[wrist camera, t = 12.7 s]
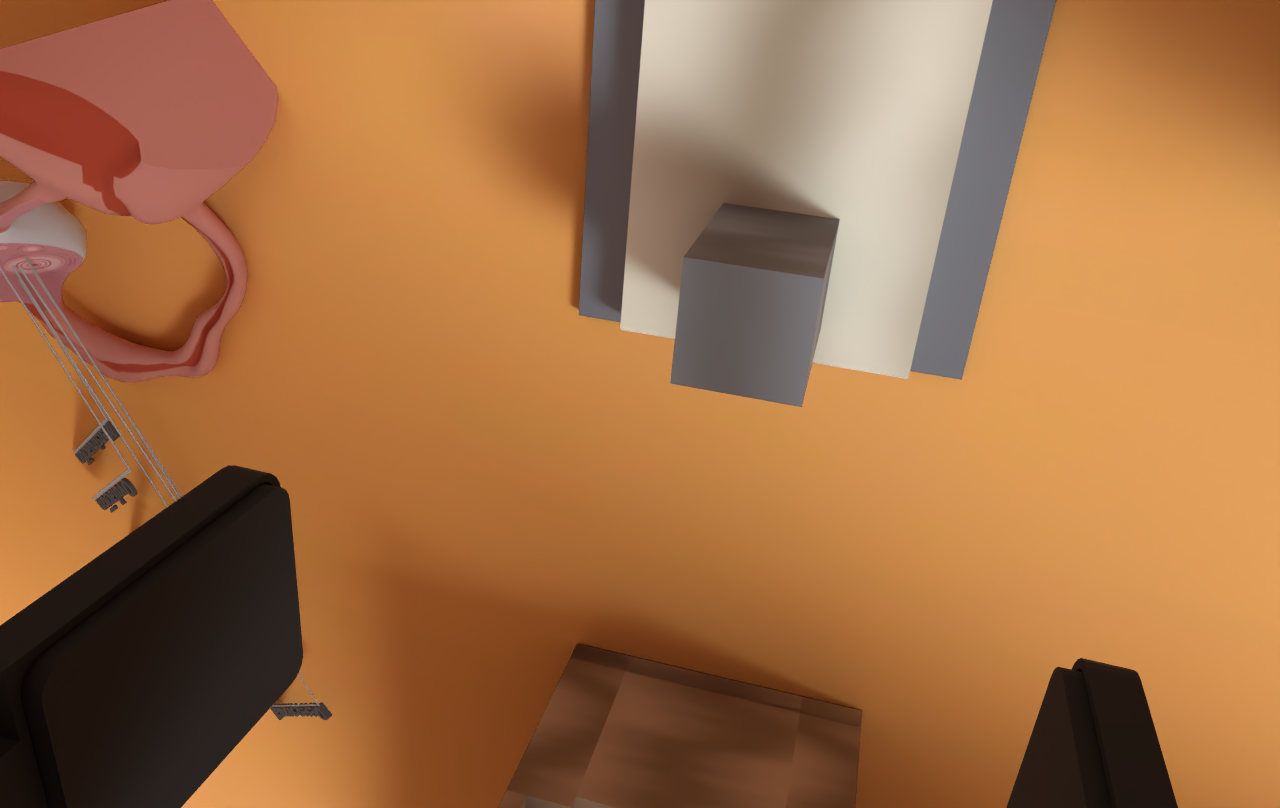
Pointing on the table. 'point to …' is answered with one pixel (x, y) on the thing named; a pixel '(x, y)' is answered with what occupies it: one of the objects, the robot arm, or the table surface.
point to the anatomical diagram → (127, 180)
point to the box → (682, 742)
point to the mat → (971, 202)
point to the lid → (793, 182)
